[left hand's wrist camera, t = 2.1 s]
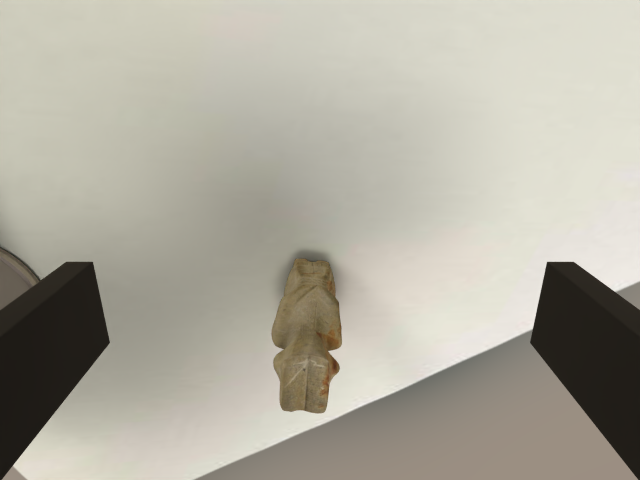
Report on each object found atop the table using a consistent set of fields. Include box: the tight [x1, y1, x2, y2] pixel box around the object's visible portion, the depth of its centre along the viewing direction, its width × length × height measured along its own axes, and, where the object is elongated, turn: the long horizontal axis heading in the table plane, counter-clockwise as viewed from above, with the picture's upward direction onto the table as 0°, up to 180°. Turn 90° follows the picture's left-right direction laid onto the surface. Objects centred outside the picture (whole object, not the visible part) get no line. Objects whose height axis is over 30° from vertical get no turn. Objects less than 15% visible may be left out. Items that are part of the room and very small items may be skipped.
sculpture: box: [272, 259, 342, 413], centre depth 36 cm, size 6×7×15 cm
